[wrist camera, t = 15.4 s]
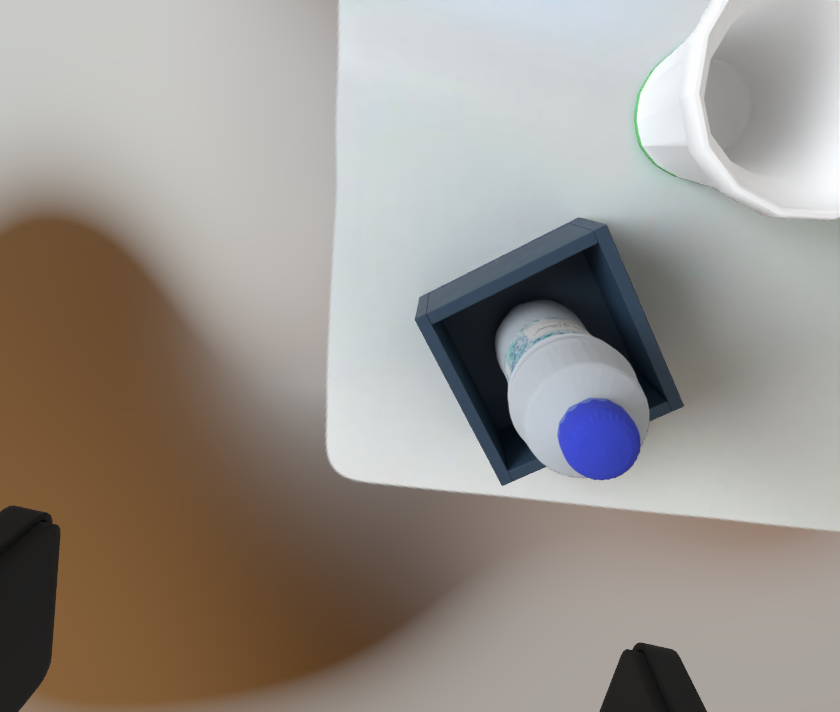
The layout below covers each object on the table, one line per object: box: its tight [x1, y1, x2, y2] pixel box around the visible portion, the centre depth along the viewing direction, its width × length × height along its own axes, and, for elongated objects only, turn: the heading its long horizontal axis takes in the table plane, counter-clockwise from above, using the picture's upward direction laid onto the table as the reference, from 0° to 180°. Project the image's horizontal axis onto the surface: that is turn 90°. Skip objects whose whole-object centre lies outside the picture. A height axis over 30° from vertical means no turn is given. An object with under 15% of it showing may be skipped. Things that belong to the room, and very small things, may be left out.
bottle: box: [495, 299, 649, 480], centre depth 35 cm, size 7×7×20 cm
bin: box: [415, 218, 684, 486], centre depth 42 cm, size 13×13×8 cm
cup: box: [635, 0, 840, 221], centre depth 34 cm, size 12×12×15 cm
